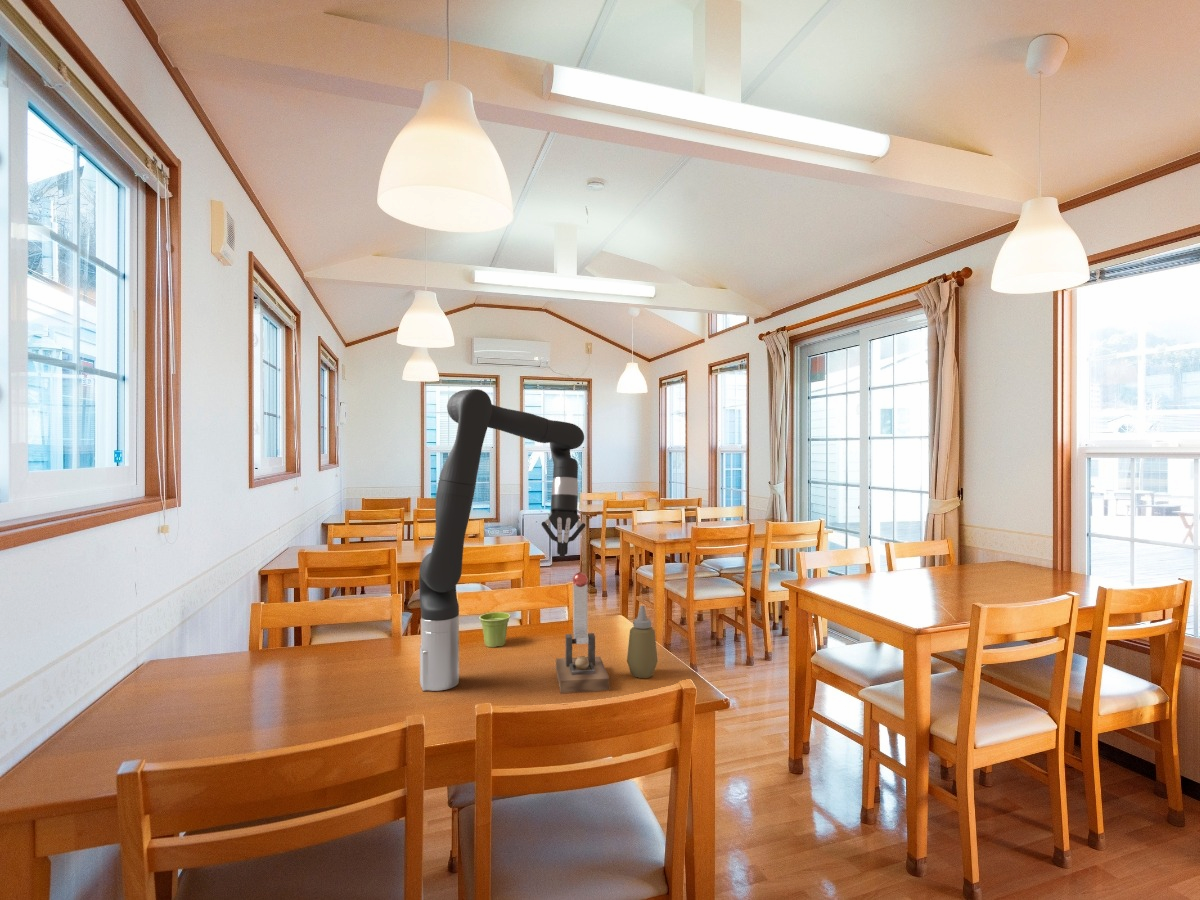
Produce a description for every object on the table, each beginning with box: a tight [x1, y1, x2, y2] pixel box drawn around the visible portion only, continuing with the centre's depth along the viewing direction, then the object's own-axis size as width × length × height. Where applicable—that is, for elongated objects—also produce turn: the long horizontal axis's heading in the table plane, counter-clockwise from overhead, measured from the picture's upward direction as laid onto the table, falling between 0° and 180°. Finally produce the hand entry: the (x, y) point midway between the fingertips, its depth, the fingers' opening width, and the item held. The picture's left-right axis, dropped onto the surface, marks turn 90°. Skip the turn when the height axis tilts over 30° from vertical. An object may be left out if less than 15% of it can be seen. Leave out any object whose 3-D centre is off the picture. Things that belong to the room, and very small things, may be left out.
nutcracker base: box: [555, 632, 610, 694], centre depth 155 cm, size 12×16×10 cm
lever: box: [572, 571, 589, 645], centre depth 157 cm, size 4×8×17 cm, turn 8°
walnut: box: [575, 655, 589, 670], centre depth 154 cm, size 4×4×4 cm
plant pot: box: [478, 611, 511, 648], centre depth 184 cm, size 9×9×9 cm
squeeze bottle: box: [626, 605, 659, 679], centre depth 159 cm, size 8×8×18 cm
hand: (562, 556), depth 168 cm, fingers closed
